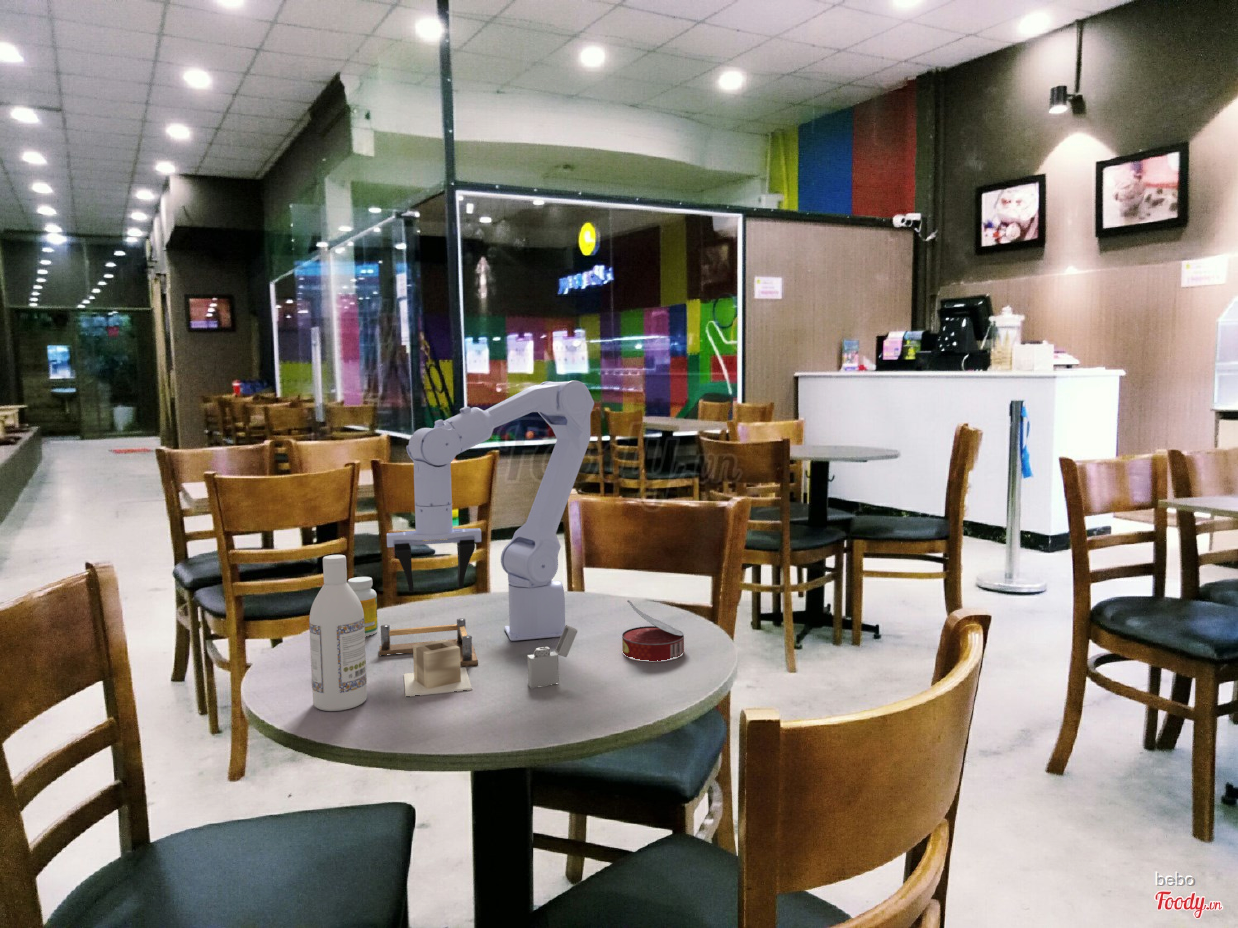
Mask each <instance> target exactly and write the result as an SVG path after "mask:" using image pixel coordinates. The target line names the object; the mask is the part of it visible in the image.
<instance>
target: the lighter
mask: <svg viewBox="0 0 1238 928" xmlns="http://www.w3.org/2000/svg"><path fill="white" fill-rule="evenodd" d="M577 634H578V629H576V628H575V627H572V626H570V625H568V624H565V628H564V630H563V633H562V635H561V636H560V637H559V640H558V643H557V644H556V647H555V650H554V651H551V648H550V646H542V647H537V648H535V650H534V651H533V653H532V654H527V656H526V657H527V686H530V687H531V688H530V687H529V688H530V689H535V688H534V687H538V686H544V687H549V686H548V685H551V684H556V683H559V684H560V681H559V675H560V674H559V656H561V657H565V658H567V657H568V655H569V652H570V650H571V648H572V646H573V644H574V641H575V638H576V636H577ZM551 686H552V685H551ZM538 688H539V687H538Z"/></svg>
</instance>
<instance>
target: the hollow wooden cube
mask: <svg viewBox="0 0 1238 928" xmlns="http://www.w3.org/2000/svg"><path fill="white" fill-rule="evenodd" d="M448 640H449V639H446V638H445V639H440V640H439V641H438V640H433V641H434V642H428V643H423V644H418V645H413V653H412V655H413V673H414V680H416V681H417V682H419V683H420V684H421V685H423V686H424V687H425V688H427V689H431V688H435V687H439V686H444V685H448V684H453V683H457V682H461V669H460V668H461V667H460V647H458V646H456V645H455V644H453V643H451V642H450V641H448Z"/></svg>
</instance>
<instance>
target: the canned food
mask: <svg viewBox="0 0 1238 928" xmlns="http://www.w3.org/2000/svg"><path fill="white" fill-rule="evenodd" d="M627 603H628V604H629V606H631V608H632V609H633V610H634V611H635V612H636V613H637V614H638V616H640V617H641V618H643V619H644V620H646V622H648V623H649V624H650V626H649V625H647V626H646V625H645V626H639V627H632V628H629V629H627V630H624V632H622V635H621V637H622V640H621V641H622V644H621V645H622V648H621V649H622V650H621V651H623V653H624V654H625V655H626V656H628V657H633V658H635V659H640V660H649V661H657V660H658V661H661V660H667V659H670V658H673V657H678V656H680V655H681V654H682V653H683V652H684V653H685V634H684V632H683V631H681V630H679V629H677V628H675V627H673V626H671V625H670V624H667V623H665V622H663V621H660V620H658V619H656V618H653V616H650V615H649V614H646V613H644V612H642V610H640V609H638V608H637V607H636V606H635V605H634V604H633V602H631V600H629V599H628V600H627ZM623 653H622V654H623Z"/></svg>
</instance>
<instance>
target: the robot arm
mask: <svg viewBox="0 0 1238 928" xmlns="http://www.w3.org/2000/svg"><path fill="white" fill-rule="evenodd" d="M594 406H595V401H594V399H593V397H592V394H591V392H590V391H589V388H588V387H587V386H586V384H584V383H583V382H582V381H579V380H570V381H553V380H551V381H549V380H548V381H543V382H541V383H540V384H535V385H531V386H529V387H527V388H525V389H524V390H521V391H520V392H518V393H516V394H514V395H512V396H510V397H508V398H506V399H504V400H502V401H501V402H498V403H497V404H494V405H493V406H491V407H489V408H487V409H485V410H483V409H482V408H479V407H475V406H474V407H470V406H464V407H461V408H460V409H459V413H457V414H456V415H454V416H451V417H449V418H447V419H445V420H443V419H438V420H435V421H434V427H433V428H432V427H431V428H430V427H421V428H419V429H417V430H415V431H414V432H413V434H412V435H411V436H410V438H409V441H408V445H406V452H407V455H408V457H409V458H410V460H412V462H413V486H414V487H413V488H414V489H413V490H414V491H413V492H414V496H413V497H414V517H415V521H414V522H415V530H409V531H408V530H407V531H400V532H399V531H398V532H387V533H386V548H393V549H394V553H395V555H396V557H397V559H398V561H399V563H400V565H401V567H402V570H403V573H404V576H405V579H406V583H407V587H408V593H414V592H415V590H414V580H413V571H412V570H413V568H412V566H413V565H412V546H419V545H420V546H422V545H439V544H456V549H457V588H458V589H464V583H465V578H466V573H467V569H468V567H469V564H470V561H471V559H472V556H473V554H474V552H475V549H476V543H482V529H481V528H480V527H479V528H478V527H477V528H453V499H452V498H453V497H452V493H453V492H452V471H451V470H452V469H451V468H452V467H451V465H452V462H453V461H454V460H455V458H456V456H457V455H459V454H461V453H463V452H465V451H467V450H469V449H472V448H473V447H476V446H477V445H479V444H482V443H484V442H487V440H490V438H491V437H492V435H493V432H494V429H495V428H498V427H500V426H502V425H506V424H507V423H509V422H512V421H515V420H516V419H519V418H521V417H524V416H526V415H529V414H530V413H538V415H540V416H541V418H542V419H543V420H544V421H545V423H546V424H548V426H549V427H550V428H551V429H552V432H553V433H554V436H555V438H556V442H555V444H554V447H553V450H552V453H551V455H550V457H549V460H548V463H547V465H546V468H545V471H544V474H543V475H542V479H541V482H540V485H539V487H538V490H537V493H536V495H535V497H534V501H533V502H532V506H531V509H530V511H529V514H528V516H527V519H526V522H524V523H523V525H522V526H520V527H519V528H517V530H515V532H514V534H513V537H512V539H511V540H510V541H509V542H508V544H506V545H505V547H504V548H503V550H502V551H501V554H500V563H501V564H500V565H501V568H502V570H503V571H504V572H505V573H506V574H507V580H508V614H509V615H508V625H504V630H505V632H506V634H507V636H508V638H509V640H510V641H511V642H515V641H525V640H536V639H547V638H560V637H561V635H562V633H563V630H564V628H565V626H566V597H565V589H564V585H563V582H562V580H553V578H555V576H556V574H557V573H558V568H559V554H560V553H559V552H560V550H561V547H562V546H561V543H560V541H559V538H558V536H557V532H558V529H559V525H560V523H561V520H562V518H563V515H564V512H565V509H566V507H567V504H568V501H569V499H570V496H571V494H572V493H571V492H572V491H573V488H574V485H575V482H576V480H577V479H576V478H577V477H578V474H579V471H580V469H581V466H582V463H583V460H584V457H585V455H586V452H587V449H588V447H589V444H590V442H591V441H590V440H591V414H592V411H593V408H594Z"/></svg>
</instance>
